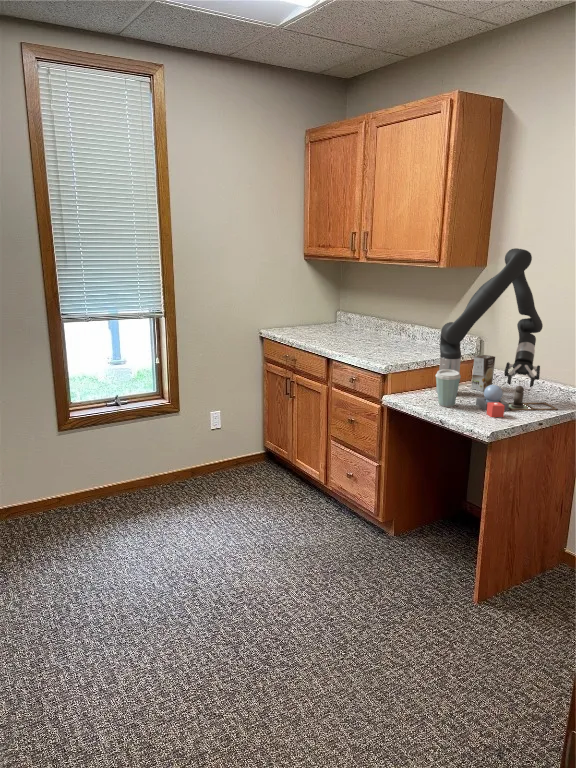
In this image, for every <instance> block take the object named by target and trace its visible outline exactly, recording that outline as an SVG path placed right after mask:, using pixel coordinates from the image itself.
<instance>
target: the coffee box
mask: <svg viewBox="0 0 576 768" xmlns="http://www.w3.org/2000/svg"><path fill="white" fill-rule="evenodd" d="M473 358H474V359H473V365H472V366H473V368H472V378H471V388H470V389H471V390H474V389H476V391H479V390H480V392H484V390H485V388H486V387H487V386H489V385H493V381H494V370H495V365H496V364H495V363H496V356H493V355H487V354H483V355H477V356H476V355H475V356H474V357H473Z"/></svg>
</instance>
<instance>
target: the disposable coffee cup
mask: <svg viewBox="0 0 576 768" xmlns="http://www.w3.org/2000/svg"><path fill="white" fill-rule="evenodd" d="M461 376H462V375H461V373H460V372H458V371H455V370H439V369H438V370H437V371H436V374H435V382H436V384H437V392H436V393H437V401H438V405H439V406H440V407H443V408H451V407H452V408H453V407H454V406H455V404H456V400H457V399H456V398H457V395H458V394H457V391H458V392H459V386H460V380H461V378H462V377H461Z"/></svg>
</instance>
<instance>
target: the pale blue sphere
mask: <svg viewBox="0 0 576 768" xmlns="http://www.w3.org/2000/svg"><path fill="white" fill-rule="evenodd" d="M503 392H504V391H503V389H502V388H501V387H500V386H499V385H497V384H492V385H489V386H487V387H486V388H485V390H484V391H483V395H484V397H483V398H486V401H487V402H499V400H500V399H502V398H503V395H504V394H503Z"/></svg>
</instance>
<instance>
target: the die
mask: <svg viewBox="0 0 576 768" xmlns="http://www.w3.org/2000/svg"><path fill="white" fill-rule="evenodd" d="M504 408H505V406H504V405H503V404H501V403H500V402H488V403H487V411H486V415H487V416H488V417H490V418H491V417H495V418H496V417H503V418H504V415H505V411H504ZM495 418H494V419H495ZM496 419H497V418H496Z"/></svg>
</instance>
